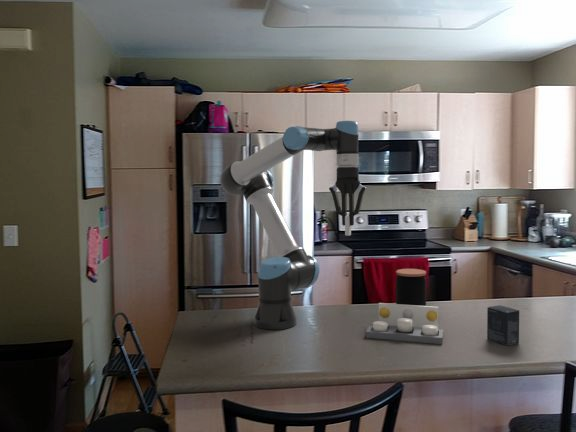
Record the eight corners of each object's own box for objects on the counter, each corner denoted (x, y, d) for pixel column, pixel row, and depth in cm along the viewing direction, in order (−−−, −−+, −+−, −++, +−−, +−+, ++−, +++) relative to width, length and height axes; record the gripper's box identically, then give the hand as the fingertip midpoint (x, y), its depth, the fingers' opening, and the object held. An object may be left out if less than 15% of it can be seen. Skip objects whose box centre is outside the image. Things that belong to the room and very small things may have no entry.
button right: (421, 338, 166) (421, 328, 165) (422, 333, 170) (422, 324, 170) (437, 339, 164) (437, 329, 164) (438, 335, 169) (438, 325, 168)
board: (365, 337, 169) (365, 331, 169) (370, 329, 178) (370, 323, 178) (442, 344, 162) (442, 337, 162) (443, 335, 170) (443, 329, 170)
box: (519, 343, 162) (520, 310, 161) (506, 346, 159) (507, 312, 158) (499, 336, 169) (499, 304, 168) (486, 339, 166) (486, 306, 165)
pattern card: (378, 326, 182) (378, 303, 181) (379, 325, 183) (379, 302, 182) (437, 330, 175) (438, 307, 174) (438, 329, 176) (438, 306, 176)
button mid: (396, 331, 168) (396, 321, 168) (398, 327, 173) (398, 317, 172) (411, 332, 167) (411, 322, 166) (412, 328, 171) (413, 318, 171)
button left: (371, 334, 171) (371, 324, 171) (374, 329, 175) (374, 320, 175) (386, 335, 169) (386, 325, 169) (388, 331, 174) (388, 321, 174)
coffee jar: (423, 316, 193) (423, 268, 192) (428, 324, 183) (428, 274, 181) (394, 315, 194) (394, 268, 193) (397, 324, 184) (397, 274, 182)
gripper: (326, 167, 176) (327, 235, 178) (364, 166, 172) (364, 236, 174) (331, 167, 183) (332, 233, 185) (368, 166, 179) (368, 234, 181)
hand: (348, 234), depth 179 cm, fingers closed
